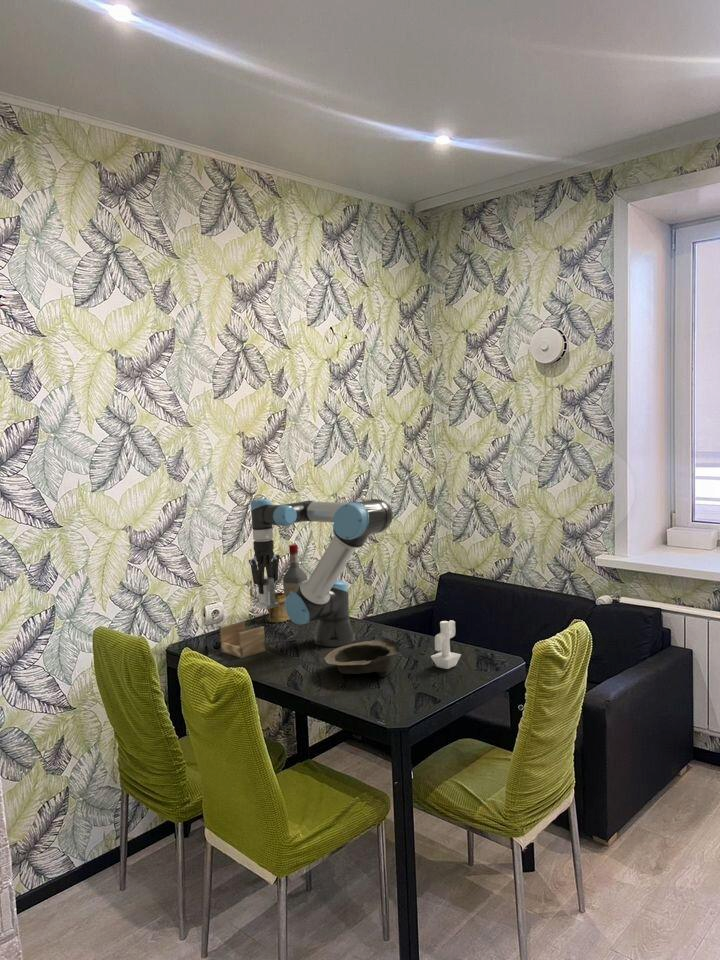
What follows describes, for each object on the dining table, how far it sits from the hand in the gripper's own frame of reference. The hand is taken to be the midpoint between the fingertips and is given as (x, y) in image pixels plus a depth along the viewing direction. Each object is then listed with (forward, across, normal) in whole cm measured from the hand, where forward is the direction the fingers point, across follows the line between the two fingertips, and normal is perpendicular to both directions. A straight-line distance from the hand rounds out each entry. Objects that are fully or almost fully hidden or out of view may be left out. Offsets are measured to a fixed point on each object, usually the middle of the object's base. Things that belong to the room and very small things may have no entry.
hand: (267, 601), depth 280 cm
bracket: (+2, 0, 0) cm, 2 cm away
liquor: (+15, -33, -24) cm, 43 cm away
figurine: (+17, -18, +72) cm, 76 cm away
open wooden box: (+16, +14, +2) cm, 21 cm away
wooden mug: (+15, -19, -22) cm, 33 cm away
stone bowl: (+16, +3, +54) cm, 56 cm away
